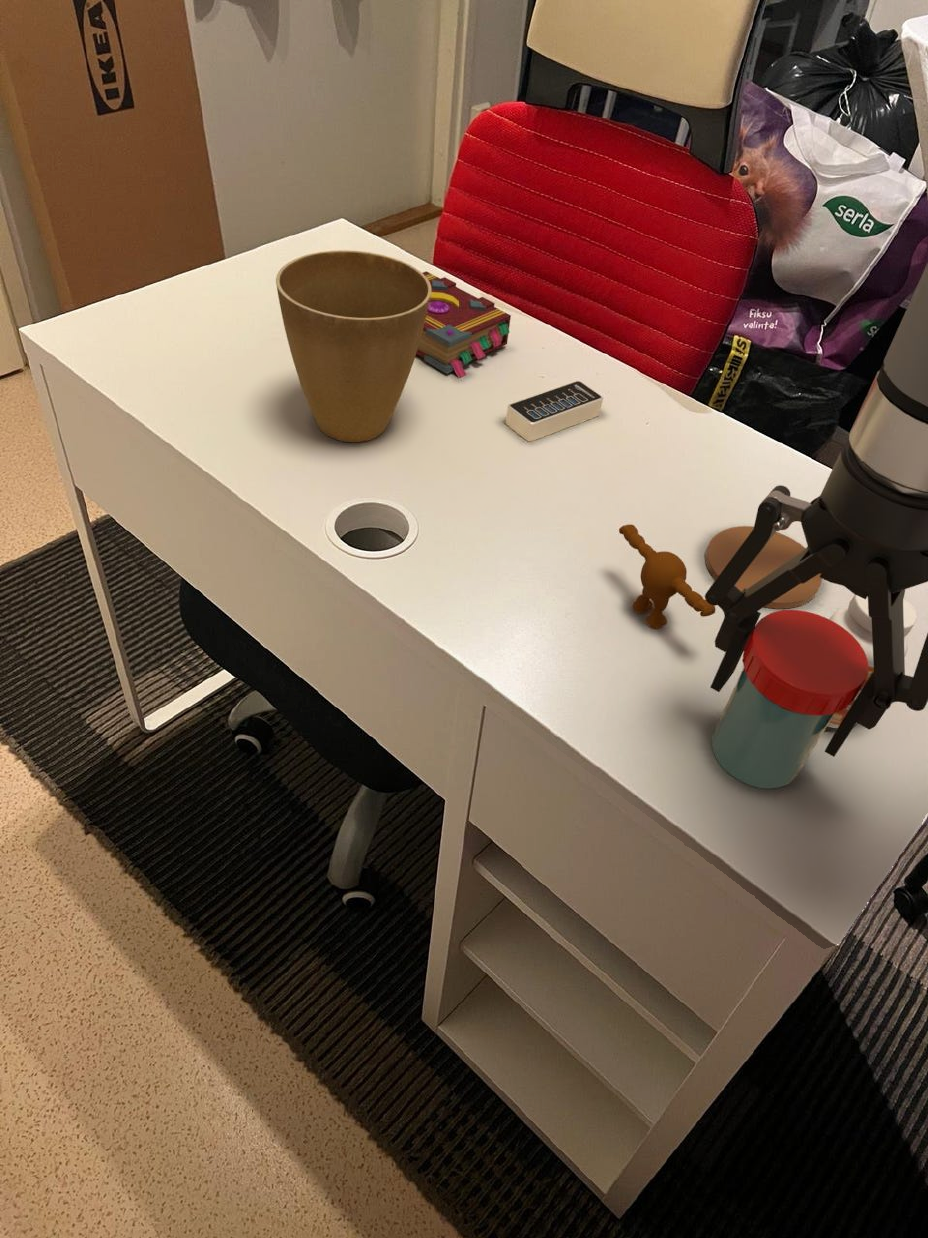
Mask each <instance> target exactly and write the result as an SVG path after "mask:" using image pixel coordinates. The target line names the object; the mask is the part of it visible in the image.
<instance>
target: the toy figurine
mask: <svg viewBox="0 0 928 1238" xmlns="http://www.w3.org/2000/svg"><path fill="white" fill-rule="evenodd" d="M618 533H619V534H620V535H623V538H624V539H625V540H626V542H627V543H628V544H629V546H630V547H631V548H633V549H634V550H637V552H638V553H639V555H640V556H641V557H643V559H644V563H643V564H642V566H641V570H640V582H641V585H642V591H641V594H639V595H638V596H637V597H636V599H635V600H634V601H633V602H632V609H633V611H635V612H636V613H638V614H645V613H648V612H649V611H650V612H649V615H648V616H647V618H646V620H645V622H646V624H647V625H648V627H650V628H652V629H659V628H662V627H664V626H665V625H667V623H668V618H667V616H665V615H664V613H663V612H664V611H665V610H666V608H667V607H668V605H669V602H670V601H669V600H670V599H671V597H673V596H675V595H676V594H678V595H680V596H682V597H683V598H684V601H685V603H686V604H687V605H688V606H689V607H690V608H691V609H693V610H694V611H695V612H697V613H699V612H700V613H699V615H700V617H705V618H706V617H709V616H711V615H712V616H713V615H714V614H716V606H714V605H711V604H709V603H708V602H707V601H706V599H705V598H704V597H703V596H702V595H701V594H700V593H698V592H697V591H695V590H693V588H692V586H691V585H690V584H689V583H687V582H686V580H687V572H688V571H687V568H686V565H685V563H684V561H683V560H682V559H681V558H680V557H679V556H678V555H677V554H675V553H673V552H670V551H665V550H664V551H656V550H654V549H653V547H652V546H651V545H649V544H648V543H646V540H645V538H644V537H643V536H642V535H641V534H640V533H639V530H638V529H637V527H636V526H635V525H634V524H625V525H622V526H620V527H619V529H618Z"/></svg>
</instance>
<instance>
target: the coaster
mask: <svg viewBox="0 0 928 1238" xmlns="http://www.w3.org/2000/svg"><path fill="white" fill-rule="evenodd" d="M753 529H754V526H750V525H747V526H746V525H743V526H742V525H741V526H734V527H730V528H726V529H724V530H721V531H720V532H718V533H716V534H715V535H714V536H713V537H712V538H711V539H710V541H709V543H708V545H707V548H706V551H705V558H704V559H705V564H706V567H707V571H708V572H709V574H710V576H711V577H712V578H713V579H714V581H715V580H716V579H717V578H718V576H719V575H720V574H721V572H722V571H723V570H724V568H725V567H726V565H727V564H728V563H729V561H730V560H731V559H732V557H733V556H734V555H735V553H736V552H737V551H738V549H739V548H740V547H741V545H742V544H743V543H744V541H745V540H746V539H747V537H748V536H749V534H750V533H751V532H752V530H753ZM806 548H807V547H805V546H803V545H802V544H801V543H799V542H798V541H796V540H794V539H793V538H791V537H789V536H788V535H785V534H783V533H781V532H779V531H776V532H775V534H774V535H773V536H772V537H771V539H770V540H769V541H768V543H767V544H766V545H765V547H764V548H763V549H762V550H761V552H760V553H759V554H758V556H757V557H756V558H755V559H754V561H753V562H752V563H751V565H750V566H749V567H748V569H747V570H746V571H745V572H744V574H743V575H742V576H741V578H740V579H739V580H738V581H737V583H736V584H735V585H734V586H736V587H737V588H738V589H739V590H740V591H741V592H742V591H743V590H744V589H745V588H746V589H748V588H749V587H751V586H752V585H754V584H755V583H757V582H758V581H760V580H761V579H763V578H764V577H766V576H767V575H769V574H770V573H771V572H773V571H774V570H776V569H777V568H779V567H780V566H782V565H783V564H785V563H786V562H788V561H789V560H791V559H792V558H794V557H795V556H797V555H798V554H799V553H801V552H802V551H803V550H804V549H806ZM820 575H821V573H819V574H818V575H816V576H815V577H813V578H812V579H810V580H808V581H807V582H805V583H803V584H802V583H801V584H799V585H797V586H796V587H794V588H793V589H791V590H790V591H788V592H786V593H785V594H783V595H782V596H780V597H779V598H777V599H775V600H774V601H772V602H771V603H769V604H768V605H766V606H765V607H764V608H768V609H777V610H778V609H779V610H780V609H781V610H786V609H792V608H797V607H800V606H803V605H805V604H807V603H809V602H810V601H811V600H813V599H814V598H815V596H816V595H817V593H818V592H819V590H820V588H821V585H822V581H823V579H822V578H820Z"/></svg>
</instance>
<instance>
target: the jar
mask: <svg viewBox="0 0 928 1238" xmlns="http://www.w3.org/2000/svg"><path fill="white" fill-rule="evenodd" d="M833 716H834V714H829V715H822V716H814V715H805V714H801V713H797V712H793V711H790V710H788V709H785V708H783V707H781V706H779V705H777V704H775V703H774V702H772V701H771V700H769V699H768V698H766V697H765V696H764V695H763V694H762V693H760V692H759V691H758V690H757V689H756V687H755V686H754V685H753V684H752V683H751V681H750V680H749V678H748V676H747V674H746V672H745V669H744V668H743V669H742V671H741V673H740V675H739V677H738V679H737V681H736V684H735V686H734V688H733V690H732V693H731V694H730V696H729V699H728V700H727V702H726V705H725V707H724V709H723V711H722V714H721V715H720V718H719V720H718V721H717V723H716V726H715V728H714V731H713V733H712V736H711V749H712V752H713V755H714V757H715V760H717V762H718V763H719V765H720V767H722V769H723V770H724V771H726V772H727V774H729V775H730V776H732V777H733V778H734V779H736V780H737V781H739V782H741V783H742V784H745V785H748V786H751V787H754V788H759V789H765V790H766V789H778V788H782V787H785V786H786V785H787V786H788V785H789V784H790V783H791V782H793V781H794V780H795V779H796V778H797V776H798V774H799V773H800V772H801V770H802V768H803V767H804V765H805V763H806V761H807V760H808V758H809V757H810V755H811V753H812V752H813V750H814V748H815V747H816V746H817V743H818V742H819V740H820V738H821V737H822V735H823V733H824V732H825V730H826V729H827V727H828V724H829V722H830V721H831V719H832V717H833Z"/></svg>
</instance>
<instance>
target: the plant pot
mask: <svg viewBox="0 0 928 1238" xmlns="http://www.w3.org/2000/svg"><path fill="white" fill-rule="evenodd" d="M275 285H276V290H277V297H278V302H279V309H280V312H281V319H282V322H283V328H284V331H285V335H286V339H287V343H288V346H289V347H288V348H289V350H290V354H291V358H292V361H293V364H294V369H295V371H296V374H297V377H298V381H299V383H300V386H301V389H302V391H303V394H304V396H305V400H306V402H307V404H308V406H309V410H310V412H311V414H312V416H313V418H314V420H315V422H316V424H317V426H318V428H319V430H320V431H321V432H322V433H323V434H324V435H326V436H327V437H330V438H332V439H334V440H335V441H341V442H346V443H361V442H367V441H371V440H373V439H376V438H378V437H379V436H380V435H381V434H383V433H384V431H385V430H386V427H387V426H388V424H389V422H390V420H391V419H392V416H393V413H394V411H395V410H396V408H397V405H398V403H399V400H400V398H401V396H402V394H403V392H404V389H405V386H406V384H407V381H408V379H409V376H410V373H411V371H412V368H413V364H414V362H415V358H416V356H417V354H416V353H417V349H418V346H419V342H420V339H421V335H422V331H423V327H424V323H425V319H426V315H427V310H428V306H429V301H430V297H431V292H432V289H431V284H430V282H429V280H428V279H427V278H426V276H425V275H424V274H423V272H422V271H420V270H419V269H418V268H416V267H414V266H413V265H411V264H409V263H407V262H405V261H403V260H400V259H397V258H394V257H391V256H388V255H384V254H380V253H374V252H370V251H362V250H351V249H350V250H349V249H348V250H347V249H345V250H343V249H342V250H340V249H339V250H327V251H317V252H312V253H309V254H305V255H302V256H300V257H296V258H294V259H292V260H291V261H289V262H288V263H286V264H284V265H283V266H282V267H281V268H280V269H279V271H278V272H277V274H276V277H275Z"/></svg>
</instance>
